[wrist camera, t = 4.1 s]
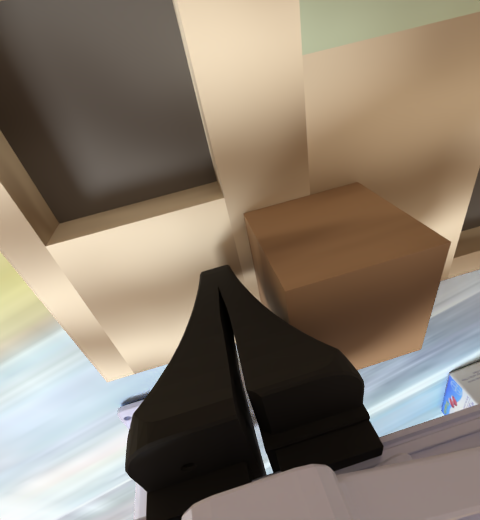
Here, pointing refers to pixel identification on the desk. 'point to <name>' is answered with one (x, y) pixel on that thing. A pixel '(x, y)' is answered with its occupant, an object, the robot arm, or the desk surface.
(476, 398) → the medicine box
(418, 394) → the desk surface
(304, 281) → the walnut block
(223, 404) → the robot arm
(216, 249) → the trap deck
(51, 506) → the desk surface
